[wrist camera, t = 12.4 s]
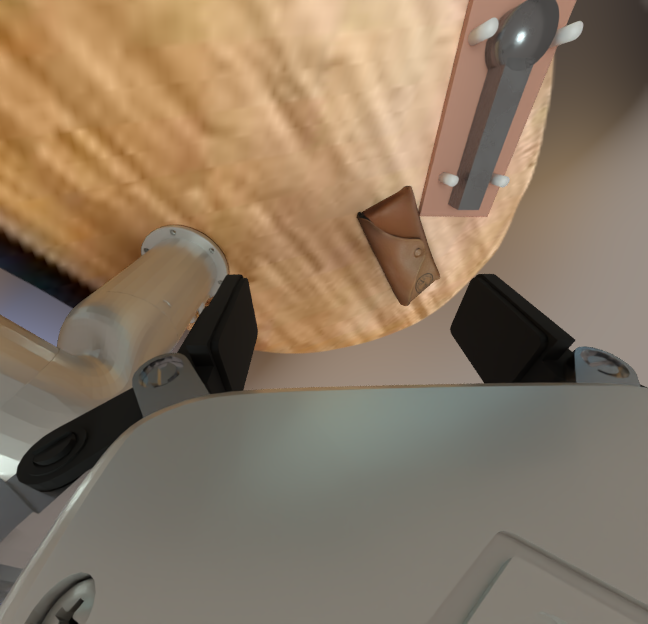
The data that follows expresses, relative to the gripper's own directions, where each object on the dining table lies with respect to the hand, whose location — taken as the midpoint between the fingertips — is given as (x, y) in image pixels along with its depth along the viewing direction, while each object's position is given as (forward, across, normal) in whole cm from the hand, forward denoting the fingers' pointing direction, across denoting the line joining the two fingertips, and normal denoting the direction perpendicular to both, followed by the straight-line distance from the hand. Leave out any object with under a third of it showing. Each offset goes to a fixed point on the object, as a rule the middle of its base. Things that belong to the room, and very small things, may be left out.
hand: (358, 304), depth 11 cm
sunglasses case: (+29, -12, +10) cm, 33 cm away
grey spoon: (+27, -18, -7) cm, 34 cm away
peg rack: (+28, -18, -7) cm, 35 cm away
